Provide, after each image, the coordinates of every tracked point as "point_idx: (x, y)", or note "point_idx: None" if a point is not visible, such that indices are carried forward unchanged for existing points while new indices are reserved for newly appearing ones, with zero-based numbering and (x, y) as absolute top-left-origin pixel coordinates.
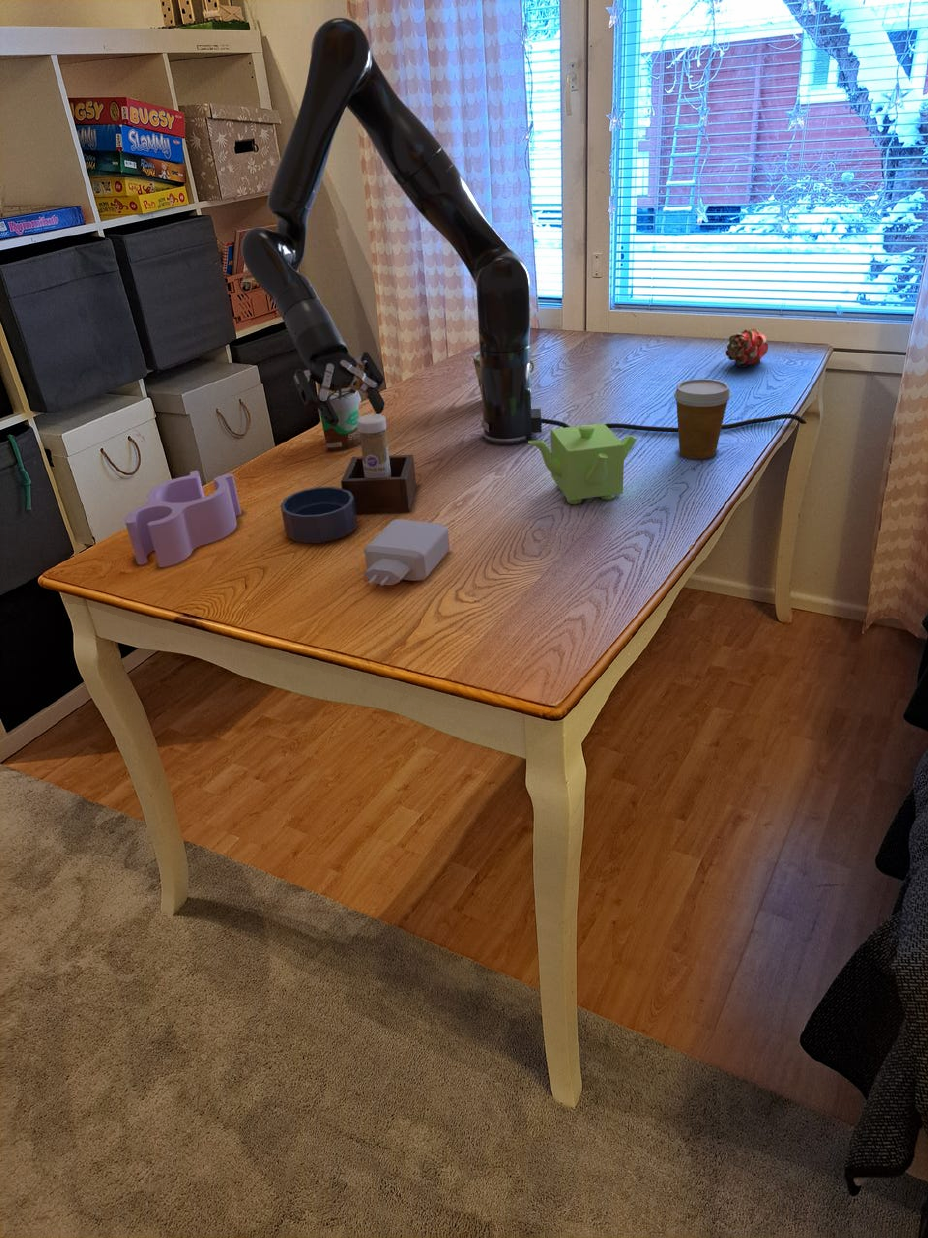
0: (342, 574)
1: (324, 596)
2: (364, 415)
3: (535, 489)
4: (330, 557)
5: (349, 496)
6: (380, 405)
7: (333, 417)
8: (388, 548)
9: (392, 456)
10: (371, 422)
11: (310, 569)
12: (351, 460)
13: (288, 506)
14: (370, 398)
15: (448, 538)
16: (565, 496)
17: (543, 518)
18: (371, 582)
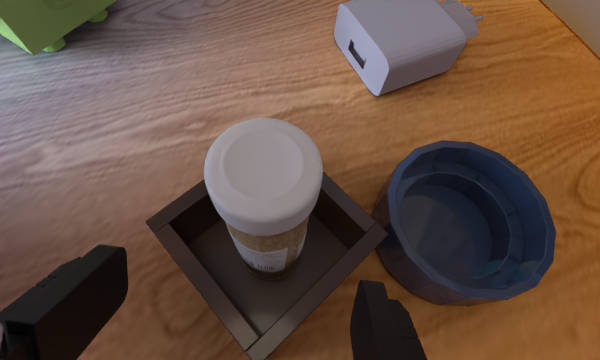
0: (474, 96)
1: (517, 75)
2: (257, 209)
3: (78, 72)
4: None
5: (401, 176)
6: (111, 249)
7: (385, 291)
8: (445, 10)
9: (185, 259)
10: (296, 127)
11: (509, 138)
12: (280, 340)
13: (517, 280)
14: (68, 346)
15: (337, 18)
16: (110, 3)
17: (172, 16)
18: (480, 15)
